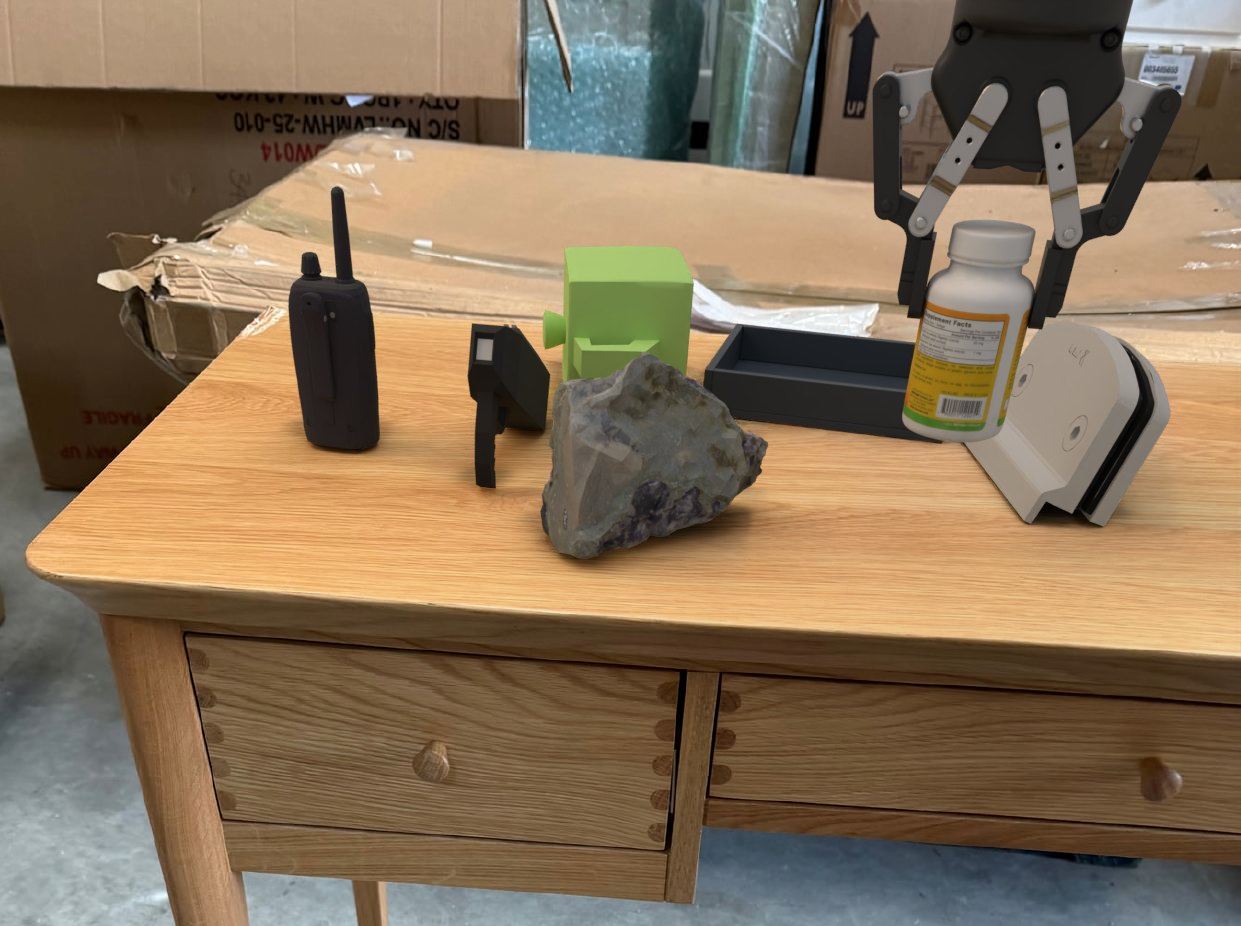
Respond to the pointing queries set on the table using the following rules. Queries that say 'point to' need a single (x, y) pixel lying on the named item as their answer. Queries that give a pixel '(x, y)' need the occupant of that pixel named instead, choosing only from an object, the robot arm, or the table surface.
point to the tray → (814, 380)
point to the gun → (503, 390)
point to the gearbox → (621, 309)
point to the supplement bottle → (971, 333)
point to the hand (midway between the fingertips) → (973, 318)
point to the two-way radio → (335, 347)
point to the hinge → (1075, 423)
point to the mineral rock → (641, 458)
